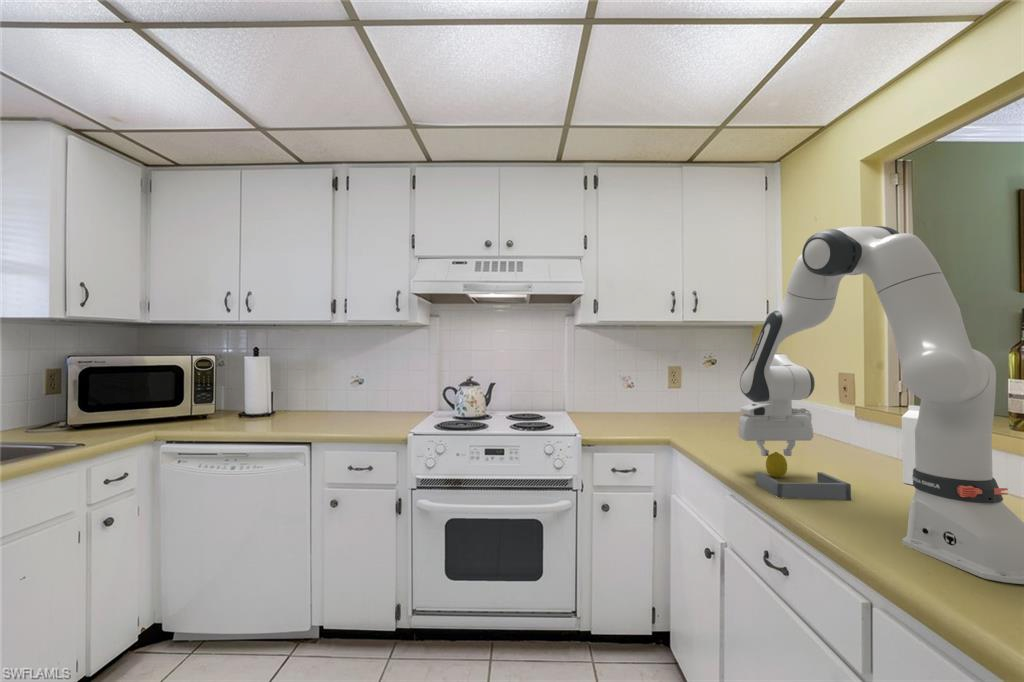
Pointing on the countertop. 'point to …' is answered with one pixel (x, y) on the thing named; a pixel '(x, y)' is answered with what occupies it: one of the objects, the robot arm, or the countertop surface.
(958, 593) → the countertop surface
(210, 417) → the countertop surface
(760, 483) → the box
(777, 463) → the lemon
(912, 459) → the milk
